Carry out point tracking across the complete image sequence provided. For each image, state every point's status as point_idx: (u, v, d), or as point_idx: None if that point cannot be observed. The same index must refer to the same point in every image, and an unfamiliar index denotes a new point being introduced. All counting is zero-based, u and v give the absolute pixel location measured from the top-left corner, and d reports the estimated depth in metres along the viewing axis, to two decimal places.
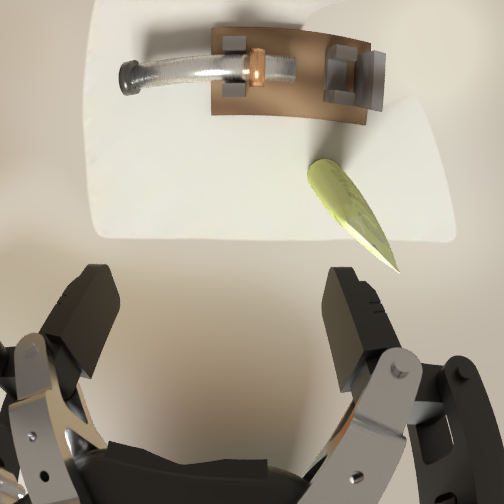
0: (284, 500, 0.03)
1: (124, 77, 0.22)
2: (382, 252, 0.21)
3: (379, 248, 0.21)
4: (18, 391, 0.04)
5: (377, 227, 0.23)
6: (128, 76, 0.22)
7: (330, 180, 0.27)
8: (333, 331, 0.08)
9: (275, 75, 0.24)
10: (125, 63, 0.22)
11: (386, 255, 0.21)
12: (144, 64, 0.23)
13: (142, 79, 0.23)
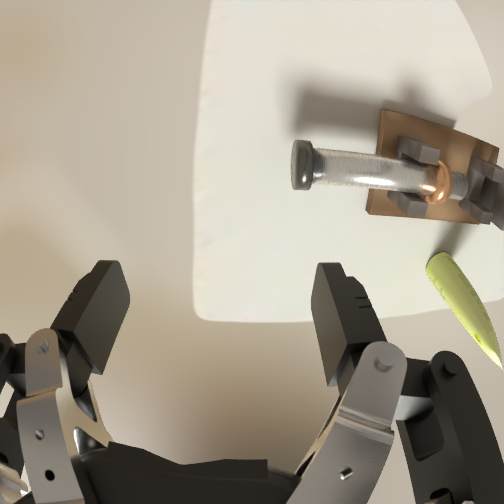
0: (275, 499, 0.03)
1: (307, 172, 0.21)
2: (499, 360, 0.19)
3: (499, 358, 0.19)
4: (27, 387, 0.04)
5: (496, 339, 0.21)
6: (313, 172, 0.21)
7: (465, 293, 0.26)
8: (321, 326, 0.08)
9: (450, 196, 0.22)
10: (302, 146, 0.21)
11: (500, 360, 0.19)
12: (329, 155, 0.21)
13: (327, 178, 0.22)
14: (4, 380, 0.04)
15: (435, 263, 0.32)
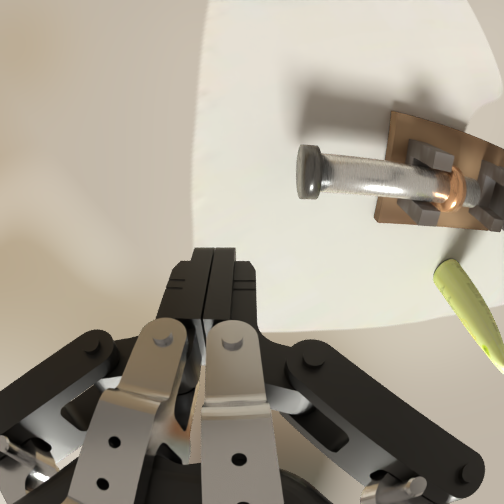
0: None
1: (315, 181, 0.19)
2: None
3: None
4: (124, 376, 0.05)
5: None
6: (321, 181, 0.19)
7: (474, 303, 0.24)
8: None
9: (462, 204, 0.21)
10: (310, 152, 0.19)
11: None
12: (338, 161, 0.19)
13: (336, 186, 0.20)
14: (86, 387, 0.05)
15: (443, 271, 0.31)
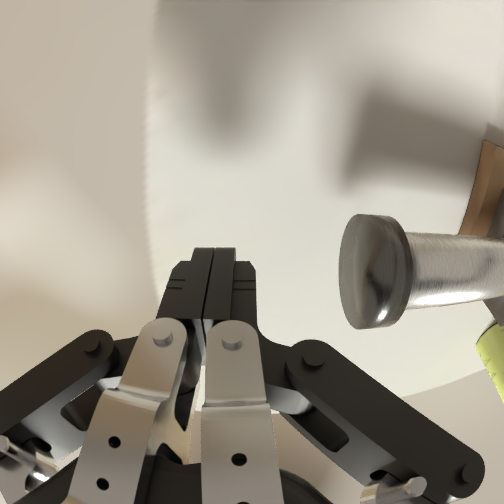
0: None
1: (393, 311, 0.08)
2: None
3: None
4: (124, 376, 0.05)
5: None
6: (404, 310, 0.08)
7: None
8: None
9: None
10: (389, 246, 0.08)
11: None
12: (433, 259, 0.08)
13: (420, 305, 0.09)
14: (86, 387, 0.05)
15: (491, 339, 0.20)
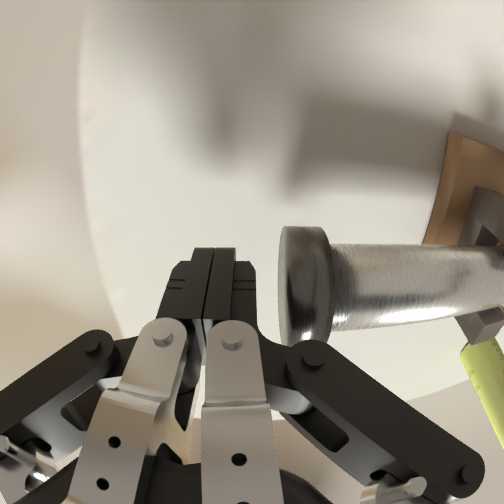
0: None
1: (314, 336, 0.08)
2: None
3: None
4: (124, 376, 0.05)
5: None
6: (329, 334, 0.08)
7: None
8: None
9: None
10: (305, 264, 0.08)
11: None
12: (372, 276, 0.08)
13: (360, 327, 0.09)
14: (86, 387, 0.05)
15: (475, 350, 0.19)
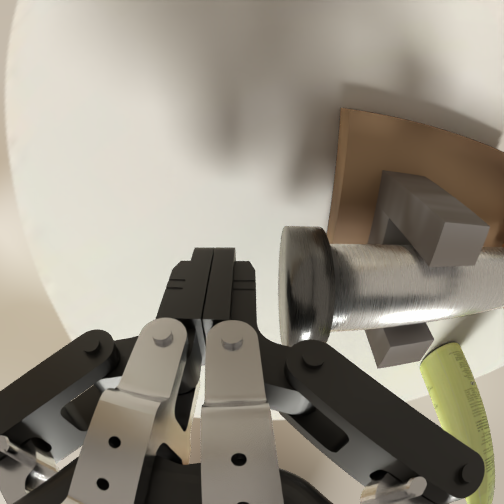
0: None
1: (314, 336, 0.08)
2: None
3: None
4: (124, 376, 0.05)
5: (493, 484, 0.07)
6: None
7: (467, 427, 0.12)
8: None
9: None
10: (305, 264, 0.08)
11: None
12: (372, 276, 0.08)
13: (360, 327, 0.09)
14: (86, 387, 0.05)
15: (435, 364, 0.19)
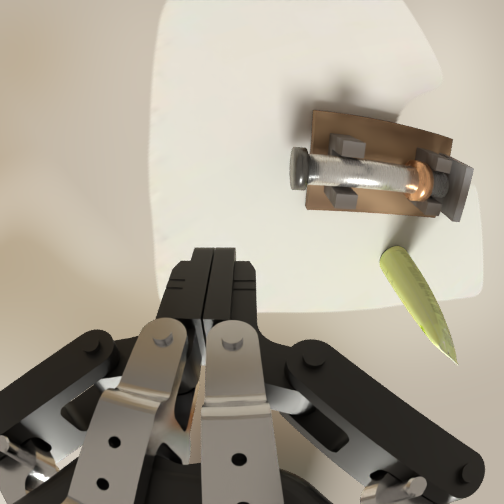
0: None
1: (304, 175, 0.25)
2: (451, 355, 0.23)
3: (450, 352, 0.23)
4: (124, 376, 0.05)
5: (448, 333, 0.24)
6: (308, 175, 0.25)
7: (413, 286, 0.29)
8: None
9: (432, 194, 0.26)
10: (299, 153, 0.24)
11: (452, 355, 0.23)
12: (322, 160, 0.25)
13: (321, 179, 0.26)
14: (86, 387, 0.05)
15: (387, 257, 0.36)
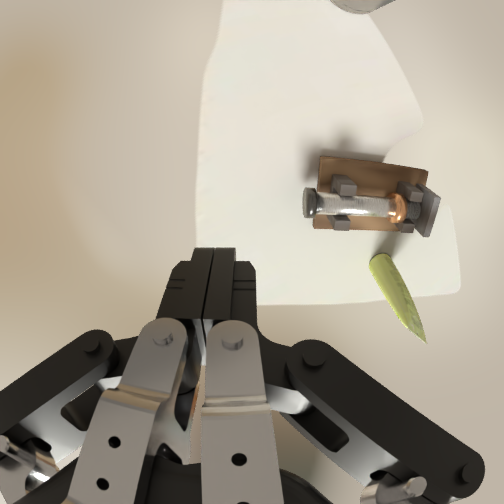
0: None
1: (313, 209, 0.37)
2: (420, 335, 0.35)
3: (419, 334, 0.35)
4: (124, 376, 0.05)
5: (418, 319, 0.36)
6: (316, 209, 0.37)
7: (392, 284, 0.41)
8: None
9: (407, 217, 0.38)
10: (310, 193, 0.36)
11: (421, 336, 0.35)
12: (326, 197, 0.37)
13: (325, 211, 0.38)
14: (86, 387, 0.05)
15: (374, 262, 0.48)
